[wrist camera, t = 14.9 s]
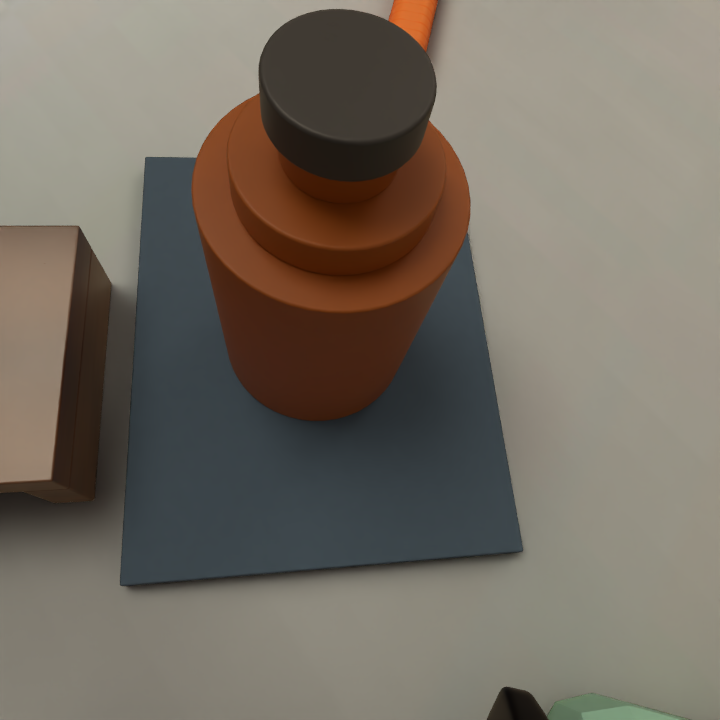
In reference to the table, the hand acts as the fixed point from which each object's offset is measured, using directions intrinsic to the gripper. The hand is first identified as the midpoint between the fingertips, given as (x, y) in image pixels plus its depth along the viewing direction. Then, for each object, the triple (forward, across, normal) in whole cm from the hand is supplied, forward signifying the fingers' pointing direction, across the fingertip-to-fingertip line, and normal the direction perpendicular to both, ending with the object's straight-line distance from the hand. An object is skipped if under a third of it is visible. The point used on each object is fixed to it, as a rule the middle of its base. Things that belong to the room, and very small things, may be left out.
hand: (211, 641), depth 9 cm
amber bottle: (+12, 0, 0) cm, 12 cm away
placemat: (+13, 0, 0) cm, 13 cm away
